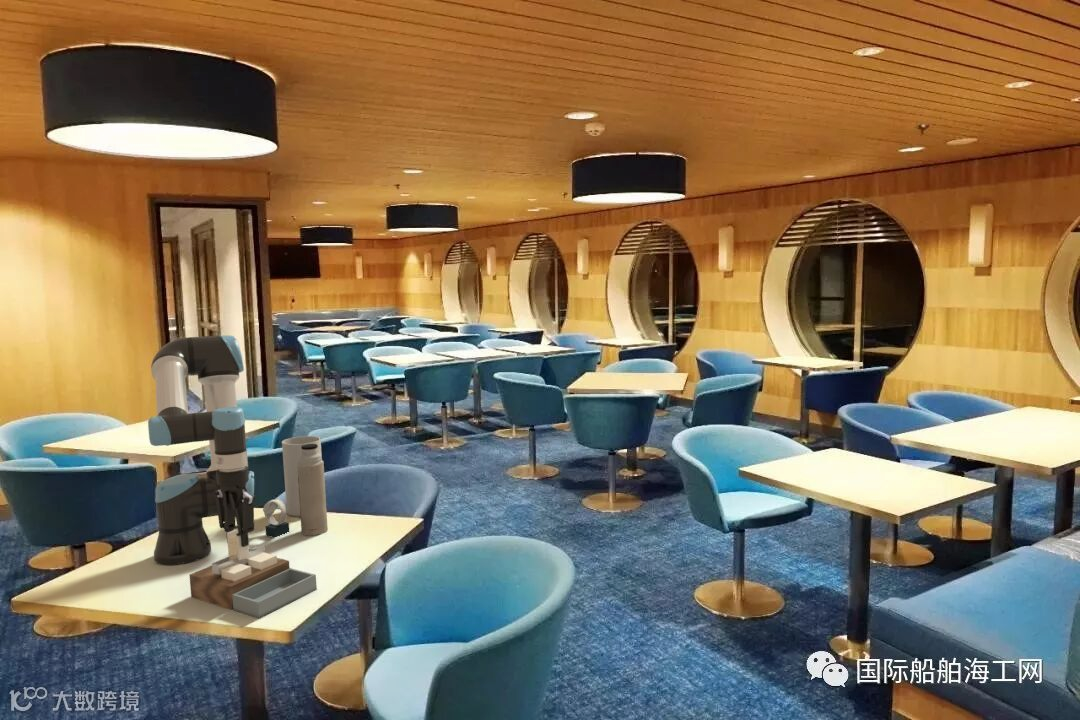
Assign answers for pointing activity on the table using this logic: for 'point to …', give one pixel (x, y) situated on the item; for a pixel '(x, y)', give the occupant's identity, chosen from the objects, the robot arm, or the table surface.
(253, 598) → the box
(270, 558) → the tile
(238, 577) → the tile
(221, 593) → the wood grain panel
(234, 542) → the gray bar with knob
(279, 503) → the watch
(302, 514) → the thermos bottle
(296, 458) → the cylinder vase
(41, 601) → the table surface
